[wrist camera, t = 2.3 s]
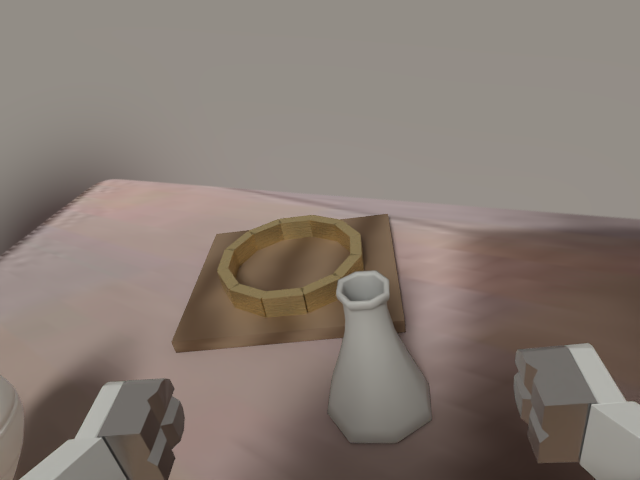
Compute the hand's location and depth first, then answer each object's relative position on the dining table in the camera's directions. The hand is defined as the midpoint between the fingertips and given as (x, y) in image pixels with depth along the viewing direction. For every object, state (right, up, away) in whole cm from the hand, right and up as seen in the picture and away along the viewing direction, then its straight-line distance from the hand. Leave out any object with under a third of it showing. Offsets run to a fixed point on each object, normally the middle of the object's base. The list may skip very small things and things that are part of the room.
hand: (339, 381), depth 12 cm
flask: (+4, -8, +22) cm, 24 cm away
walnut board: (-3, 0, +36) cm, 36 cm away
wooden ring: (-3, +1, +35) cm, 35 cm away
